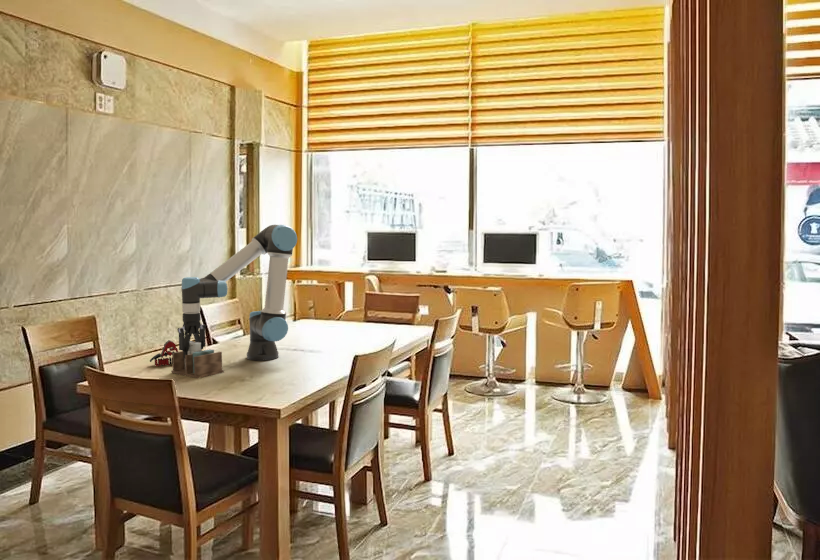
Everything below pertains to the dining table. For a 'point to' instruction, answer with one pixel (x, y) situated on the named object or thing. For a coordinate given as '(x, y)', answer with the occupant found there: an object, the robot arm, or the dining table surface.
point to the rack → (197, 363)
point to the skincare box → (194, 347)
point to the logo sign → (165, 354)
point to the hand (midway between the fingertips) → (193, 364)
